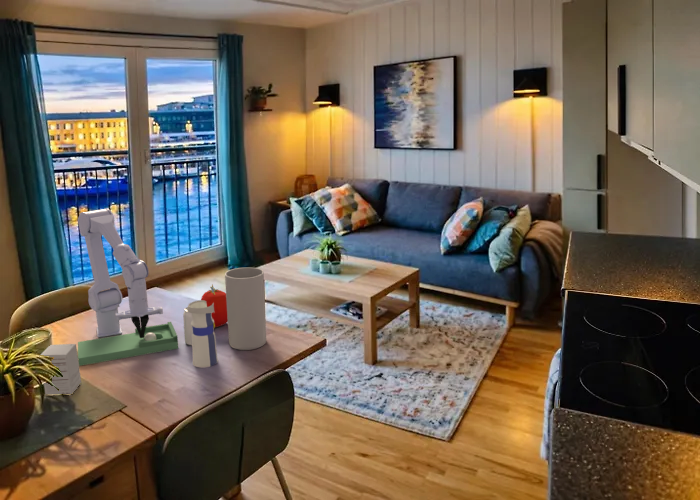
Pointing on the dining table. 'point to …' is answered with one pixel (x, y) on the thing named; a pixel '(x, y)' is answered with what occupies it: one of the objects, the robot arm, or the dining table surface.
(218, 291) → the tomato
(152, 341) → the green mini golf board
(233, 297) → the cylinder vase
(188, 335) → the can
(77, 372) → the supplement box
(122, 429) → the dining table surface
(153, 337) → the ball
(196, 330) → the water bottle
